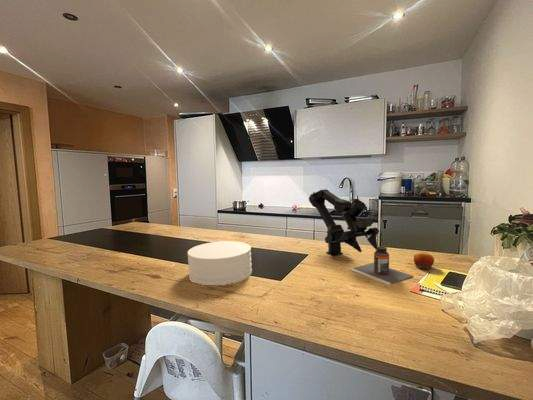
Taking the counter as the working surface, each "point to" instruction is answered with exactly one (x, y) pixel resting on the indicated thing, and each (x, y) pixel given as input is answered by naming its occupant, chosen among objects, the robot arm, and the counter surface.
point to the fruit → (423, 260)
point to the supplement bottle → (381, 261)
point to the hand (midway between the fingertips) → (369, 250)
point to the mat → (386, 279)
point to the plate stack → (219, 263)
